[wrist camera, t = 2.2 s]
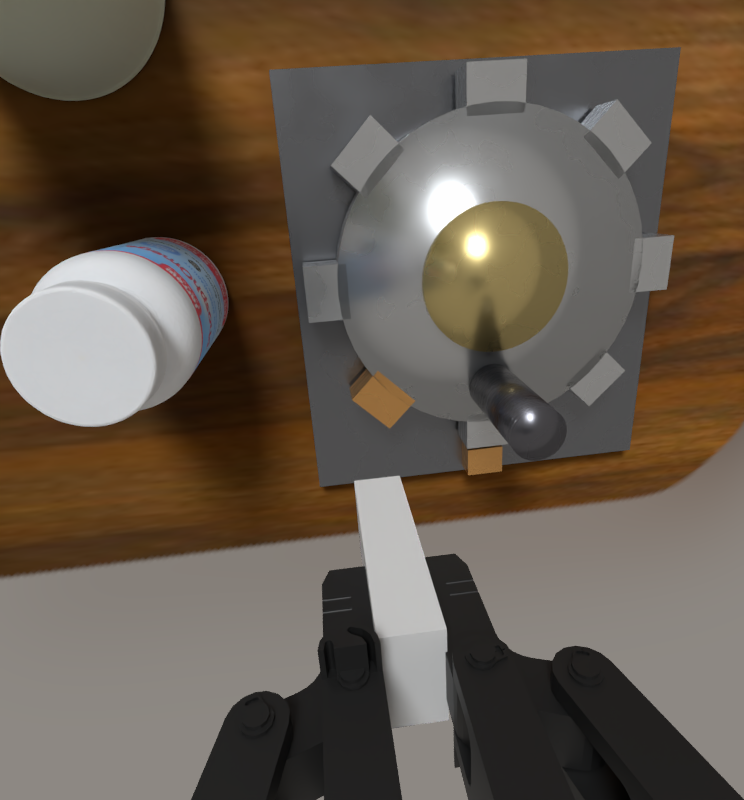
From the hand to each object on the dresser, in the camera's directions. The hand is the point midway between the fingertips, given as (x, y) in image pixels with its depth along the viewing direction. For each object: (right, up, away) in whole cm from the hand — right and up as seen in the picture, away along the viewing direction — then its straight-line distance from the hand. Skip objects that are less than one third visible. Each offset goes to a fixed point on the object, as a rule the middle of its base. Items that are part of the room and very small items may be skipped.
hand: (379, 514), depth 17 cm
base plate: (+5, +11, +11) cm, 16 cm away
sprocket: (+5, +10, +9) cm, 15 cm away
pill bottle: (-11, +9, +10) cm, 17 cm away
